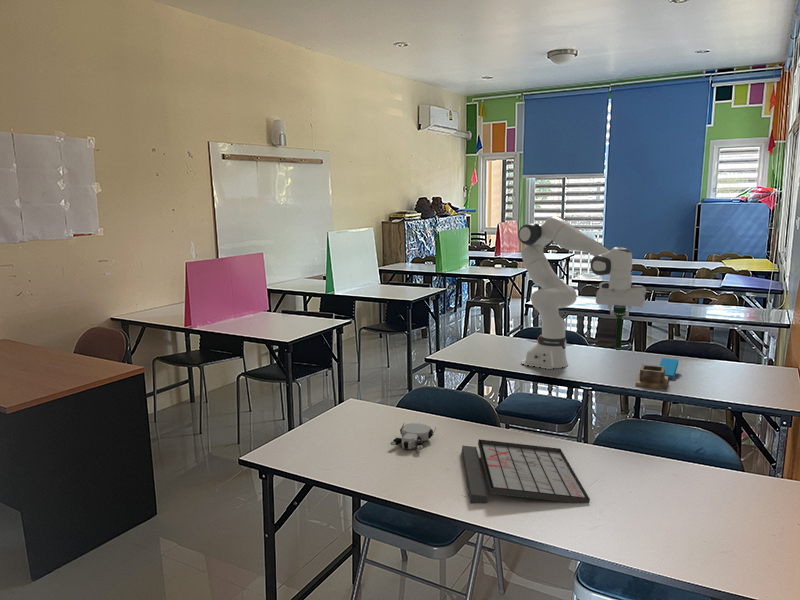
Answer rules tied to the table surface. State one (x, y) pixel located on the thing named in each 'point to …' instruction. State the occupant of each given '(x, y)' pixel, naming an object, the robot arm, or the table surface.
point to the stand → (652, 377)
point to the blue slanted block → (669, 367)
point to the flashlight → (619, 324)
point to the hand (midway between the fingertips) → (619, 315)
